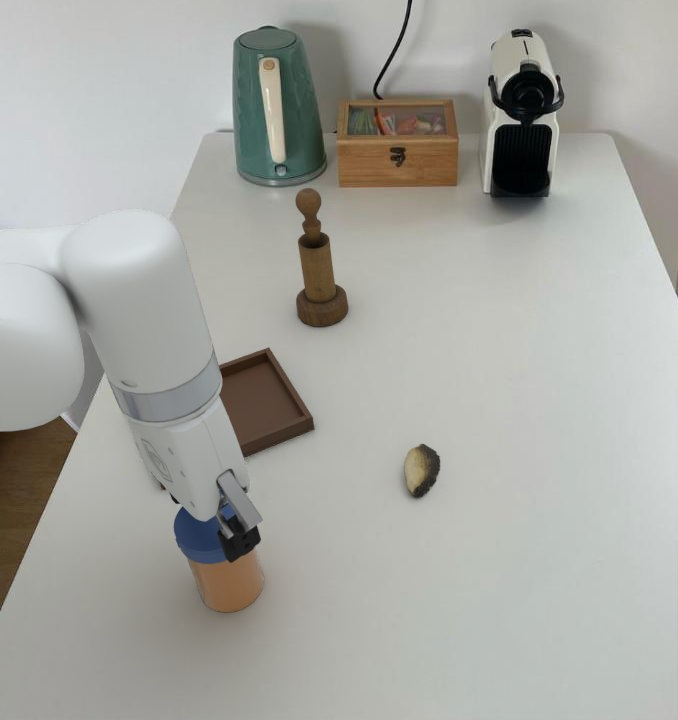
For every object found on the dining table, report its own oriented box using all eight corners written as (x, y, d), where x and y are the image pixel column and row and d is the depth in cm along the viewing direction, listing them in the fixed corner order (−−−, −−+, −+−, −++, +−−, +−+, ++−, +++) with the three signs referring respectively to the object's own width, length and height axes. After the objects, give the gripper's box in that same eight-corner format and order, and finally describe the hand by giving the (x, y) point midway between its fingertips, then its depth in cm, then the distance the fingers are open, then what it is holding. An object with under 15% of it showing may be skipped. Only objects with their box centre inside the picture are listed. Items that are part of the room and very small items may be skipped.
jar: (211, 623, 74) (189, 563, 67) (192, 573, 78) (169, 512, 71) (273, 594, 76) (257, 534, 69) (251, 547, 79) (233, 485, 73)
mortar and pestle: (329, 289, 109) (314, 170, 97) (358, 311, 106) (346, 191, 93) (288, 310, 106) (267, 190, 94) (316, 334, 103) (299, 212, 90)
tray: (162, 490, 85) (158, 478, 84) (131, 410, 94) (126, 398, 93) (314, 429, 91) (312, 416, 89) (271, 359, 100) (269, 346, 98)
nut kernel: (415, 502, 82) (419, 479, 81) (381, 476, 85) (385, 454, 83) (455, 476, 87) (460, 455, 85) (422, 453, 89) (426, 431, 88)
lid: (190, 576, 68) (185, 564, 66) (168, 521, 72) (163, 508, 71) (263, 544, 70) (259, 531, 69) (238, 492, 74) (234, 479, 73)
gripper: (62, 344, 61) (127, 489, 73) (185, 471, 51) (237, 614, 63) (150, 299, 65) (198, 444, 77) (280, 410, 55) (312, 556, 67)
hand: (216, 520), depth 70 cm, fingers open, 7 cm apart
